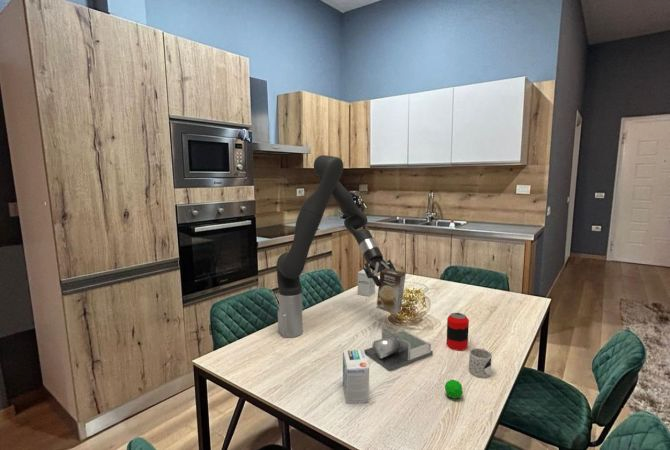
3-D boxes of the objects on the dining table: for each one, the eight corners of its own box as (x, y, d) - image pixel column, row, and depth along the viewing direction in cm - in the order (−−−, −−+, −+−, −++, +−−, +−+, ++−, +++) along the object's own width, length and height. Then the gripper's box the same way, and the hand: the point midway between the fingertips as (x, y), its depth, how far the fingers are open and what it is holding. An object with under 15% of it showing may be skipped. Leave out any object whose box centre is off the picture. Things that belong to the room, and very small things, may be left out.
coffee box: (375, 308, 146) (379, 270, 143) (381, 303, 151) (385, 267, 149) (396, 314, 141) (400, 276, 139) (402, 309, 147) (406, 272, 144)
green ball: (458, 391, 106) (459, 376, 105) (465, 401, 101) (466, 386, 100) (442, 391, 106) (442, 376, 105) (447, 402, 101) (448, 386, 100)
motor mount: (389, 371, 117) (390, 350, 116) (364, 353, 128) (364, 334, 127) (432, 355, 127) (433, 335, 126) (405, 340, 139) (405, 321, 138)
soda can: (467, 343, 136) (468, 313, 134) (467, 352, 129) (469, 320, 127) (446, 340, 139) (447, 310, 137) (446, 349, 132) (447, 318, 130)
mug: (488, 380, 111) (489, 360, 110) (466, 374, 115) (467, 355, 114) (493, 366, 120) (494, 347, 119) (472, 360, 123) (473, 342, 122)
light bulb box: (342, 382, 111) (342, 350, 109) (363, 381, 111) (363, 349, 110) (346, 404, 100) (346, 368, 99) (369, 403, 101) (370, 367, 99)
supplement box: (357, 294, 192) (357, 272, 190) (363, 290, 198) (363, 268, 196) (369, 297, 188) (369, 273, 186) (375, 293, 194) (375, 270, 192)
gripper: (361, 247, 147) (378, 282, 139) (387, 244, 155) (404, 277, 147) (353, 257, 152) (369, 291, 144) (379, 254, 160) (395, 286, 152)
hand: (387, 284), depth 146 cm, fingers closed on coffee box, 7 cm apart
